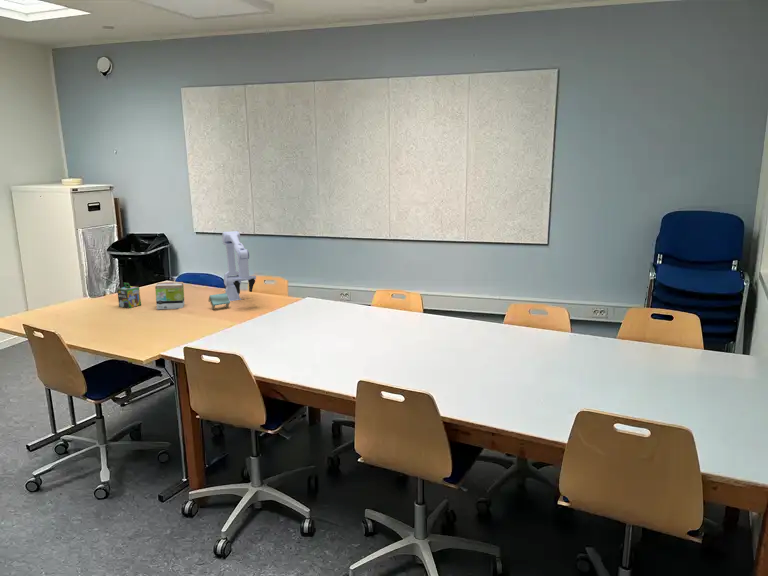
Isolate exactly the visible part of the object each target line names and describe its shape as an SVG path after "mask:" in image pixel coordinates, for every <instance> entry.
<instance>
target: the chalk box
mask: <svg viewBox="0 0 768 576" xmlns="http://www.w3.org/2000/svg"><path fill="white" fill-rule="evenodd" d="M123 285H124V286H123V287H120V288H119V287H118V288H116V290H117V291H116V292H117V299H118V301H117V302H118V307H119V308H124V309H133V308H135V307H138V306H141V305H142V301H141V295H140V294H141V292H140V287H139V286H131V285H130V283H129V282H123ZM127 285H128V286H127Z"/></svg>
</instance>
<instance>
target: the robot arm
mask: <svg viewBox="0 0 768 576" xmlns="http://www.w3.org/2000/svg"><path fill="white" fill-rule="evenodd" d="M221 234H222V235H221V238H222V244H223V245H224V246H225V248H226V250H225V251H226V260H227V271H226V272H225V273H224V274H223V283H224V286H225V289H224V290H225V291H224V292H225V293H226V294H227V296H228V299H229V301H230V302H233V301H239V300H242V298H241V297H240V294H241V285H242V282H245V281H247V282H248V291H249V292H250V293H252V292H253V288H254V285H255V284H256V280H257V276H256V275H250V274H249V272H250V271H249V260H250V251H249V249H247V248H245V245H244V244H243V243H242V242H240V240H241V234H240V232H239V230H236V231H223V232H222V233H221ZM235 253H236V257H235ZM236 261H237V264H238V265H237V266H238V271H237V269H236Z"/></svg>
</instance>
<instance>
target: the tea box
mask: <svg viewBox="0 0 768 576" xmlns="http://www.w3.org/2000/svg"><path fill="white" fill-rule="evenodd" d="M154 288H155V301H156V302H155V305H156V310H172V309H173V310H174V309H176V310H178V309H183V308H184V306H185V291H184V290H185V289H184V288H185V287H184V282H183V281H175V282H174V281H173V282H172V281H171V282H170V281H169V282H157V283H156V284H155V286H154Z"/></svg>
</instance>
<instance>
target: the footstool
mask: <svg viewBox="0 0 768 576" xmlns="http://www.w3.org/2000/svg"><path fill="white" fill-rule="evenodd" d="M208 303H210V305H211V310H212V311H213V310H215V308H216V306H220V305H225V308H229V306H230V303H231V301H229V299H228V296H227V294H226V292H223V293H217V294H209V297H208Z"/></svg>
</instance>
